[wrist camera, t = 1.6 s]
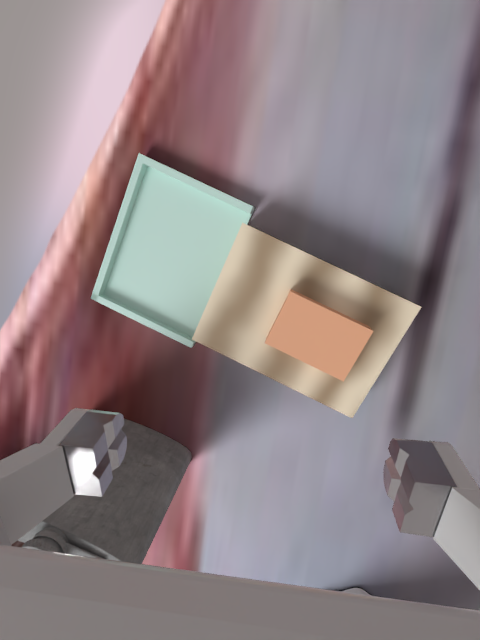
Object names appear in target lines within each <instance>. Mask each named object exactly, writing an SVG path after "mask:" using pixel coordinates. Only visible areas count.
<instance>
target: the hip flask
mask: <svg viewBox="0 0 480 640" xmlns="http://www.w3.org/2000/svg"><path fill="white" fill-rule="evenodd" d="M124 423H125V424H124V425H123V427H122V428H121V430H122V431H123V432H124V433H125V434H126V437H127V449H126V452H125V456H124V459H123V461H122V463H121V465H120V466H119V467H117V468H116V469H114V470H113V471H112V475H113V479H112V481H111V482H110V484H109V486H108V488H107V489H106V491H105V493H104V495H103V496H102V497H98V496H87V495H75V494H74V497H72V498H71V499H70V500H68V501H67V502H66V503H65V504H63V505H62V506H61V507H59V508H58V509H57V510H56V511H54V512H53V513H52V514H51V515H49V516H48V517H47V518H45V519H44V520H43V521H42V522H40V523H39V524H38V525H36V526H35V527H34V528H33V529H31V530H30V531H29V532H27V533H26V534H25V535H24V536H22V537H21V538H20V539H18V540H17V541H20V542H23V543H24V544H23V546H22V547H21V548H28V549H36V550H43V551H50V552H58V553H65V554H72V555H79V556H87V557H94V558H101V559H108V560H115V561H123V562H130V563H137V564H142V562H143V560H144V558H145V556H146V554H147V551H148V549H149V547H150V545H151V543H152V541H153V539H154V537H155V535H156V532H157V530H158V528H159V526H160V524H161V522H162V520H163V518H164V516H165V514H166V511H167V509H168V507H169V505H170V503H171V501H172V499H173V497H174V495H175V493H176V490H177V488H178V486H179V484H180V482H181V480H182V478H183V476H184V474H185V472H186V469H187V467H188V465H189V463H190V461H191V457H192V456H191V452H190V451H189V449H188V448H186V447H185V446H183V445H181V444H180V443H178V442H176V441H175V440H173V439H171V438H169V437H167V436H165V435H163V434H161V433H159V432H157V431H155V430H153V429H150V428H148V427H146V426H143V425H141V424H138V423H135V422H133V421H130V420H127V419H124Z"/></svg>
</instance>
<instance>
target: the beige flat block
mask: <svg viewBox="0 0 480 640" xmlns="http://www.w3.org/2000/svg"><path fill="white" fill-rule="evenodd" d="M291 289H292V290H294V291H296V292H298V293H300V294H302V295H304V296H307V297H309V298H311V299H313V300H315V301H317V302H319V303H321V304H323V305H325V306H328V307H330V308H332V309H334V310H336V311H338V312H340V313H342V314H344V315H346V316H348V317H351V318H353V319H355V320H357V321H359V322H361V323H363V324H365V325H367V326H369V327H370V328H371V329H372V330H373V333H372V335H371V336H370V338H369V340H368V341H367V343H366V345H365V346H364V348H363V350H362V352H361V353H360V355H359V357H358V358H357V360H356V362H355V363H354V365H353V367H352V368H351V370H350V372H349V373H348V375H347V377H346V378H345V380H344V382H343V381H341V380H339V379H337V378H335V377H333V376H331V375H329V374H327V373H325V372H323V371H321V370H319V369H317V368H315V367H313V366H311V365H308V364H306V363H304V362H302V361H300V360H298V359H296V358H294V357H292V356H290V355H288V354H286V353H284V352H282V351H280V350H278V349H276V348H274V347H271V346H269V345H267V344H265V340H266V337H267V335H268V333H269V331H270V329H271V327H272V325H273V324H274V322H275V320H276V318H277V316H278V314H279V312H280V310H281V308H282V306H283V304H284V302H285V300H286V298H287V296H288V294H289V292H290V290H291ZM420 309H421V307H420V306H418V305H416V304H414V303H412V302H410V301H408V300H406V299H404V298H402V297H400V296H398V295H396V294H393V293H391V292H389V291H387V290H385V289H383V288H381V287H379V286H376V285H374V284H372V283H370V282H368V281H366V280H364V279H362V278H359V277H357V276H355V275H353V274H351V273H349V272H347V271H345V270H342V269H340V268H338V267H336V266H334V265H332V264H330V263H328V262H325V261H323V260H321V259H319V258H317V257H315V256H313V255H311V254H308V253H306V252H304V251H302V250H300V249H298V248H296V247H294V246H291V245H289V244H287V243H285V242H283V241H281V240H279V239H277V238H274V237H272V236H270V235H268V234H266V233H264V232H262V231H260V230H257V229H255V228H253V227H251V226H249V225H247V224H244V223H242V225H241V227H240V229H239V232H238V234H237V236H236V239H235V241H234V243H233V245H232V248H231V250H230V252H229V255H228V257H227V259H226V261H225V264H224V266H223V268H222V271H221V273H220V275H219V278H218V280H217V282H216V284H215V287H214V289H213V291H212V294H211V296H210V298H209V301H208V303H207V305H206V307H205V310H204V312H203V314H202V317H201V319H200V321H199V324H198V326H197V328H196V330H195V333H194V335H193V337H192V340H194V341H196V342H198V343H200V344H202V345H204V346H206V347H208V348H210V349H212V350H214V351H216V352H218V353H220V354H222V355H224V356H227V357H229V358H231V359H233V360H235V361H237V362H239V363H241V364H243V365H245V366H247V367H249V368H251V369H253V370H255V371H257V372H259V373H261V374H263V375H265V376H267V377H269V378H271V379H273V380H275V381H277V382H279V383H281V384H283V385H286V386H288V387H290V388H292V389H294V390H296V391H298V392H300V393H302V394H304V395H306V396H308V397H310V398H312V399H314V400H316V401H318V402H320V403H322V404H324V405H326V406H328V407H330V408H332V409H334V410H336V411H338V412H340V413H342V414H344V415H347V416H349V417H351V418H353V416H354V414H355V413H356V411H357V410H358V408H359V406H360V405H361V403H362V402H363V400H364V398H365V397H366V395H367V394H368V392H369V390H370V389H371V387H372V386H373V384H374V382H375V381H376V379H377V378H378V376H379V374H380V373H381V371H382V370H383V368H384V366H385V365H386V363H387V362H388V360H389V358H390V357H391V355H392V354H393V352H394V350H395V349H396V347H397V346H398V344H399V342H400V341H401V339H402V337H403V336H404V334H405V333H406V331H407V329H408V328H409V326H410V325H411V323H412V321H413V320H414V318H415V317H416V315H417V313H418V312H419V310H420Z"/></svg>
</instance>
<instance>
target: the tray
mask: <svg viewBox="0 0 480 640" xmlns="http://www.w3.org/2000/svg"><path fill="white" fill-rule="evenodd" d="M254 209H255V208H254V207H253V206H251V205H249V204H247V203H245V202H242V201H240V200H238V199H236V198H234V197H232V196H230V195H227V194H225V193H223V192H221V191H219V190H217V189H215V188H212V187H210V186H208V185H206V184H204V183H202V182H200V181H197V180H195V179H193V178H191V177H189V176H187V175H185V174H183V173H180V172H178V171H176V170H174V169H172V168H170V167H168V166H165V165H163V164H161V163H159V162H157V161H155V160H153V159H150V158H148V157H146V156H144V155H142V154H140V153H139V154H138V157H137V160H136V163H135V166H134V169H133V172H132V175H131V178H130V181H129V184H128V187H127V190H126V193H125V196H124V199H123V202H122V205H121V208H120V211H119V214H118V217H117V220H116V223H115V226H114V229H113V232H112V236H111V239H110V242H109V245H108V248H107V251H106V254H105V257H104V260H103V263H102V266H101V269H100V272H99V275H98V278H97V281H96V284H95V287H94V290H93V293H92V296H91V299H93V300H95V301H97V302H99V303H101V304H103V305H105V306H107V307H109V308H111V309H113V310H115V311H117V312H119V313H121V314H123V315H125V316H127V317H129V318H131V319H133V320H135V321H137V322H139V323H141V324H143V325H145V326H148V327H150V328H152V329H154V330H156V331H158V332H160V333H162V334H164V335H166V336H168V337H170V338H172V339H174V340H176V341H178V342H180V343H182V344H184V345H186V346H188V347H190V348H192V347H193V346H194V345H195V343H196V341H194V340H192V337H193V335H194V333H195V330H196V328H197V326H198V324H199V321H200V319H201V317H202V314H203V312H204V310H205V307H206V305H207V303H208V301H209V298H210V296H211V294H212V291H213V289H214V287H215V284H216V282H217V280H218V278H219V275H220V273H221V271H222V268H223V266H224V264H225V261H226V259H227V257H228V255H229V252H230V250H231V248H232V245H233V243H234V241H235V239H236V236H237V234H238V232H239V229H240V227H241V225H242V223H244V224H247V225H248V223H249V220H250V218H251V216H252V213H253V211H254Z"/></svg>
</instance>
